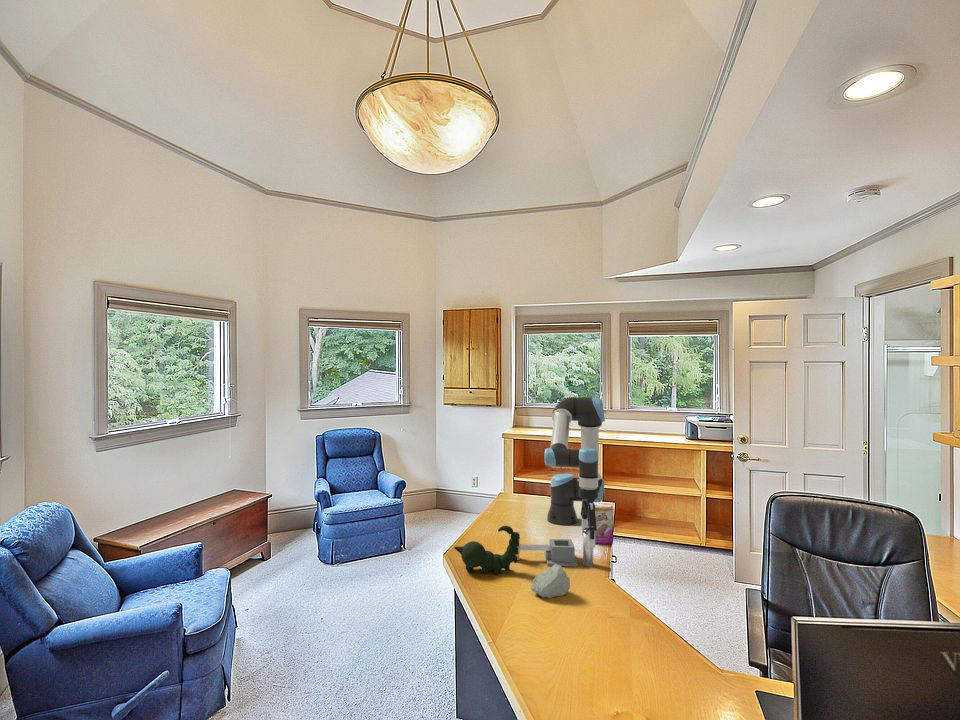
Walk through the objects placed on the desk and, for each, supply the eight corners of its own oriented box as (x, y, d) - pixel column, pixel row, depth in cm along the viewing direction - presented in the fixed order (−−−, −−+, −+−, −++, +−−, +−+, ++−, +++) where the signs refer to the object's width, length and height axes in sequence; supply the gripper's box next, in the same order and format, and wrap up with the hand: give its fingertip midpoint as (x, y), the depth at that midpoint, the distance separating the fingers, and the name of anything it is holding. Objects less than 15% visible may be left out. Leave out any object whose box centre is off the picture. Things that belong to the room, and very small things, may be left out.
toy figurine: (515, 571, 192) (453, 563, 194) (520, 523, 192) (457, 516, 194) (516, 581, 183) (450, 573, 184) (521, 531, 183) (455, 524, 184)
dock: (544, 554, 205) (544, 537, 205) (573, 554, 205) (573, 538, 205) (547, 566, 193) (547, 548, 193) (577, 566, 193) (577, 548, 193)
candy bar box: (588, 543, 217) (588, 507, 218) (586, 539, 222) (586, 503, 222) (613, 544, 216) (613, 507, 216) (611, 540, 221) (611, 504, 221)
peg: (582, 562, 197) (582, 527, 197) (592, 562, 197) (592, 527, 197) (584, 566, 193) (584, 531, 193) (594, 566, 193) (594, 531, 193)
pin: (511, 557, 201) (511, 531, 201) (550, 557, 201) (550, 532, 201) (511, 560, 198) (511, 534, 198) (551, 560, 198) (551, 535, 198)
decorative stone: (570, 586, 175) (554, 561, 178) (577, 588, 165) (560, 561, 168) (541, 608, 172) (525, 582, 175) (547, 612, 162) (530, 584, 165)
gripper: (574, 480, 208) (573, 530, 207) (584, 495, 183) (584, 552, 182) (591, 480, 207) (591, 530, 207) (604, 495, 182) (604, 552, 182)
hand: (588, 541), depth 194 cm, fingers open, 13 cm apart
